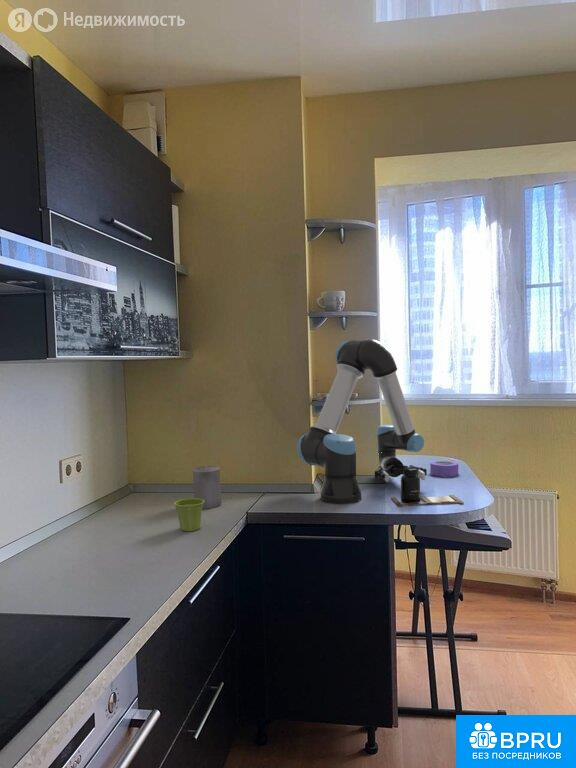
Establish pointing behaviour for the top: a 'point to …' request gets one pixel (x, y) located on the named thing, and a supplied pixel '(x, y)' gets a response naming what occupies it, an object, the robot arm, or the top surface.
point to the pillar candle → (207, 485)
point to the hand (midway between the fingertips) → (405, 477)
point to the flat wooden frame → (431, 501)
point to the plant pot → (189, 513)
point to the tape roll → (444, 468)
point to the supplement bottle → (410, 486)
